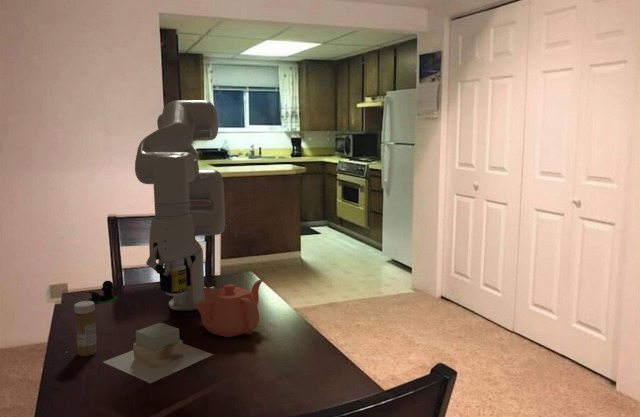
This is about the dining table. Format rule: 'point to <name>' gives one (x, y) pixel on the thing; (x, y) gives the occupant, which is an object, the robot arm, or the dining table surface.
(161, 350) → the birch block
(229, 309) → the teapot
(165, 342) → the sage block
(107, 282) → the toy figurine
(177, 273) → the supplement bottle
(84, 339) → the sprinkles bottle
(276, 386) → the dining table surface
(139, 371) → the base plate
